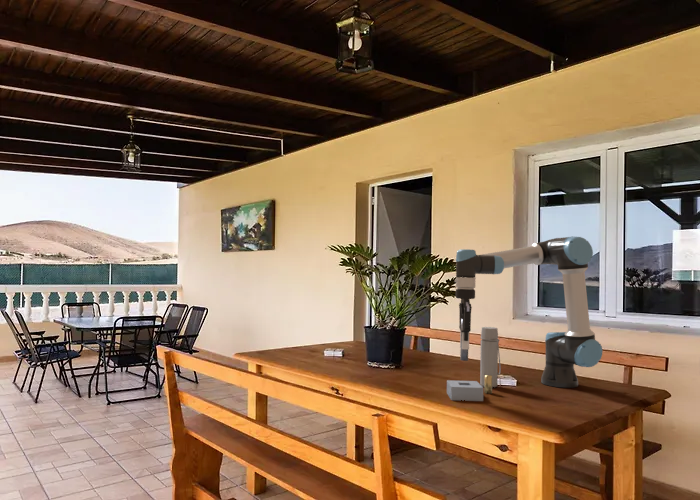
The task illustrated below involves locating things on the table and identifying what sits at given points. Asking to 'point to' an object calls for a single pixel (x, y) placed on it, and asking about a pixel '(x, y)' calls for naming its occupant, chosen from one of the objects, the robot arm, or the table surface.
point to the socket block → (464, 390)
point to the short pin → (488, 384)
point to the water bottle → (489, 355)
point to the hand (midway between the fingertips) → (464, 348)
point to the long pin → (463, 351)
